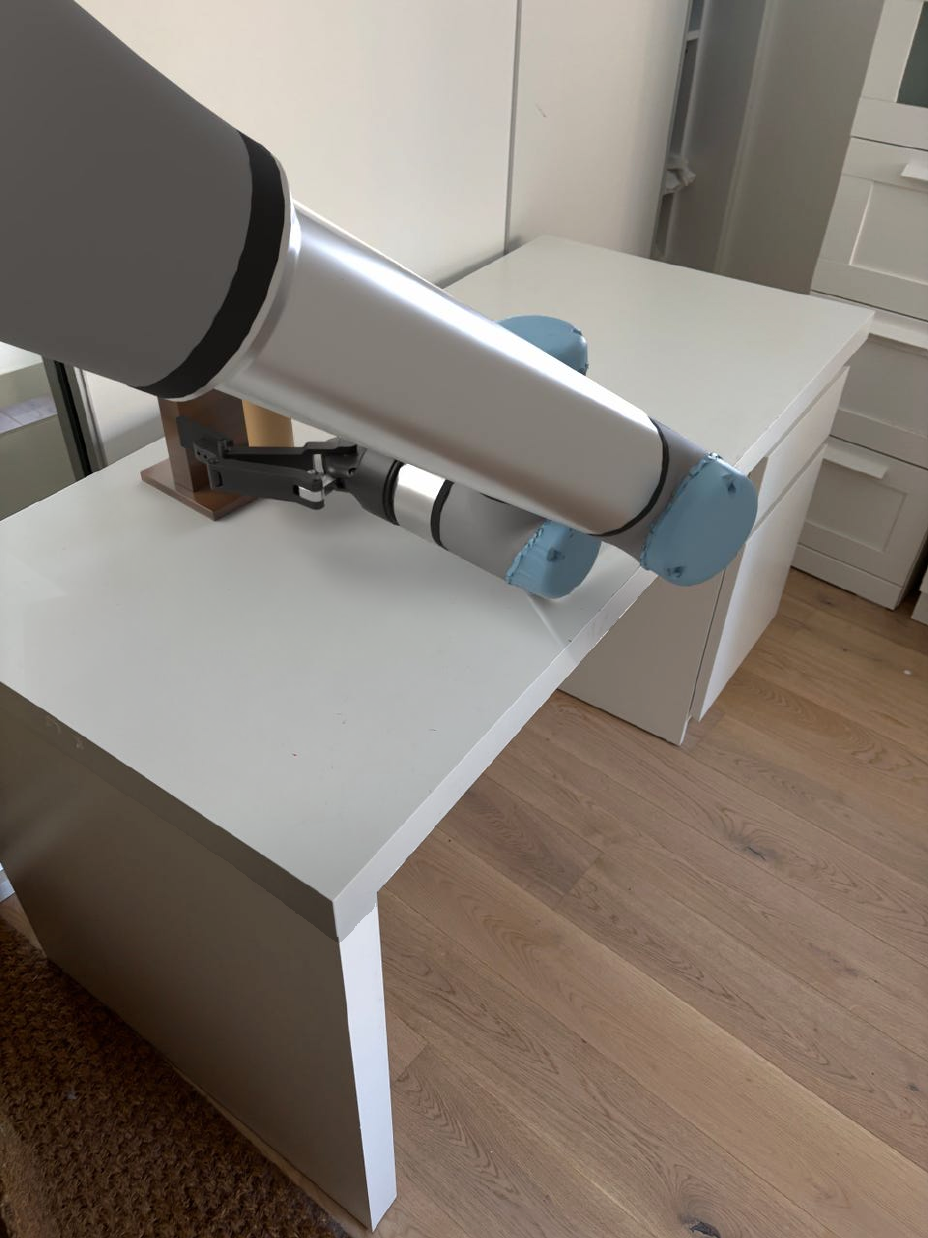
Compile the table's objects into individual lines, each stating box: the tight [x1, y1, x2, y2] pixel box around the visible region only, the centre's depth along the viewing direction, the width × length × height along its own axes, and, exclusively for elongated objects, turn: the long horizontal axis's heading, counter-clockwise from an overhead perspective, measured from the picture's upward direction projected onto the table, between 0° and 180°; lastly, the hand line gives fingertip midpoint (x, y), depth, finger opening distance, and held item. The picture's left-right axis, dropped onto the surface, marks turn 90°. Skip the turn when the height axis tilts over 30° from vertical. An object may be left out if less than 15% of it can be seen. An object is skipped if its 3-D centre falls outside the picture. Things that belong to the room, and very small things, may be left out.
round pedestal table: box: [242, 400, 296, 447], centre depth 85 cm, size 9×9×14 cm
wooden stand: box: [139, 388, 259, 522], centre depth 89 cm, size 17×11×17 cm, turn 51°
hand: (242, 402), depth 87 cm, fingers open, 13 cm apart
